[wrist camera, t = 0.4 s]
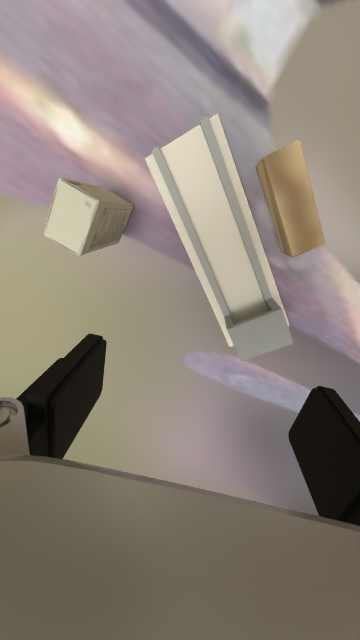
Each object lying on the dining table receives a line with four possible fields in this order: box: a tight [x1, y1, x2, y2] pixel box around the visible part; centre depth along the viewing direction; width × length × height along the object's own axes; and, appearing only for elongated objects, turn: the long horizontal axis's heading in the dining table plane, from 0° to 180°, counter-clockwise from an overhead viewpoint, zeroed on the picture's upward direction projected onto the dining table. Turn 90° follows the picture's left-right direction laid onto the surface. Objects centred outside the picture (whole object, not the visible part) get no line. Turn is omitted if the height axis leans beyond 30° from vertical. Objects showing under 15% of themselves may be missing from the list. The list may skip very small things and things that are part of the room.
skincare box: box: [44, 178, 133, 256], centre depth 29 cm, size 6×4×12 cm
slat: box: [256, 139, 325, 257], centre depth 30 cm, size 4×12×4 cm, turn 26°
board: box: [145, 113, 293, 361], centre depth 32 cm, size 10×30×7 cm, turn 26°
